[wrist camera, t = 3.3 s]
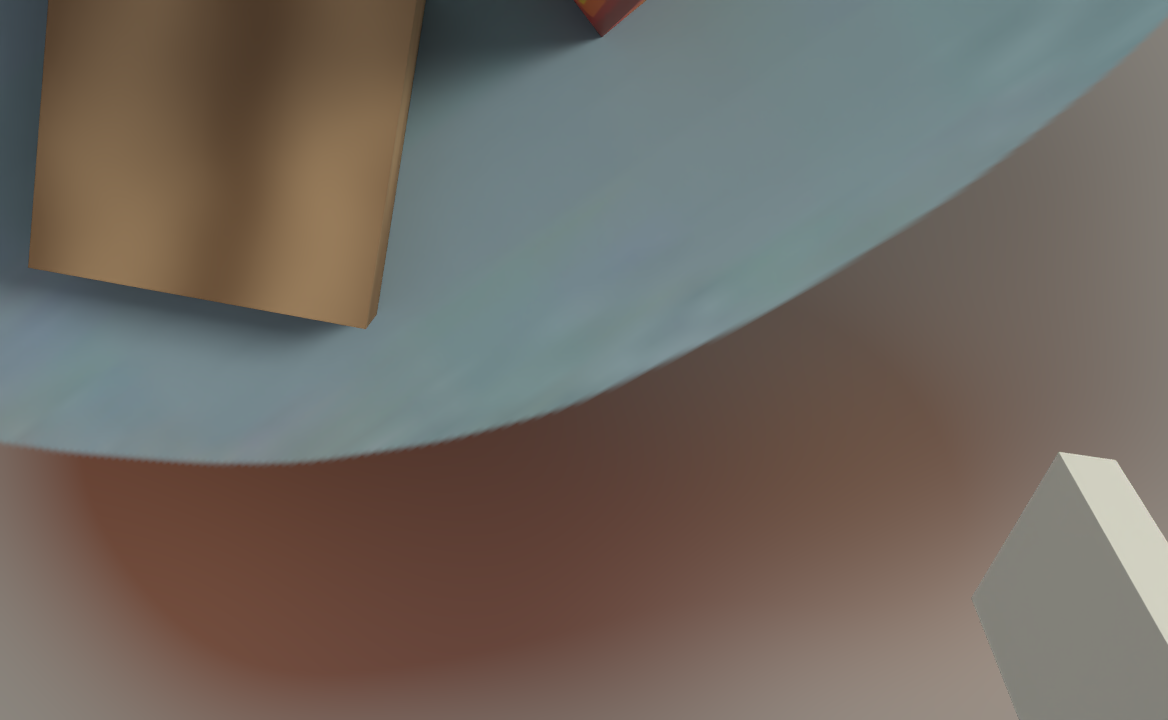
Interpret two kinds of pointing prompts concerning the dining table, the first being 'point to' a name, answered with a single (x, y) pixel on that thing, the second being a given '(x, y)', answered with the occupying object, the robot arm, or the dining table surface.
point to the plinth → (225, 148)
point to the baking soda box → (607, 12)
